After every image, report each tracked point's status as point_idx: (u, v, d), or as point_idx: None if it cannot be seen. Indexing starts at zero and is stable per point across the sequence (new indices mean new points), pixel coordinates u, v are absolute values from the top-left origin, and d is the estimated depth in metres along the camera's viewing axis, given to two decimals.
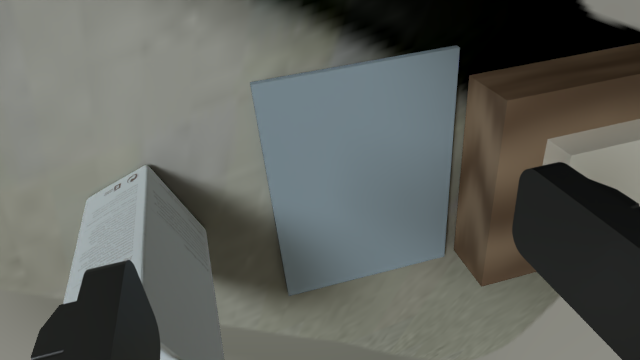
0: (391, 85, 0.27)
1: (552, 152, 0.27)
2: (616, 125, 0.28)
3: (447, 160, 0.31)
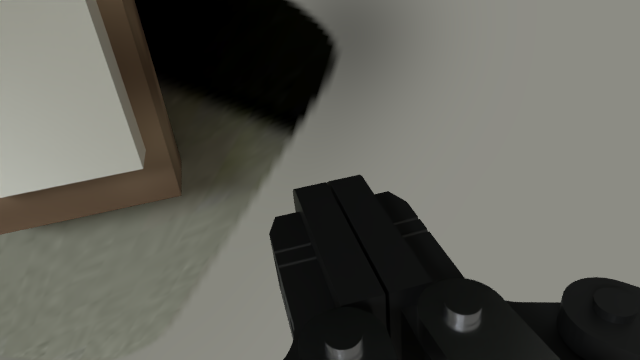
0: None
1: None
2: None
3: None
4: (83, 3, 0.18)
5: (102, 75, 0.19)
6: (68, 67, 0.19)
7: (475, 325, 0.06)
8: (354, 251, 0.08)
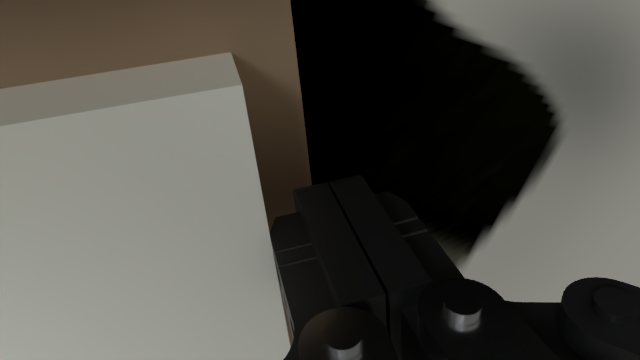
0: None
1: None
2: (32, 85, 0.08)
3: None
4: (243, 123, 0.08)
5: (257, 256, 0.09)
6: (192, 248, 0.09)
7: (475, 325, 0.06)
8: (354, 251, 0.08)
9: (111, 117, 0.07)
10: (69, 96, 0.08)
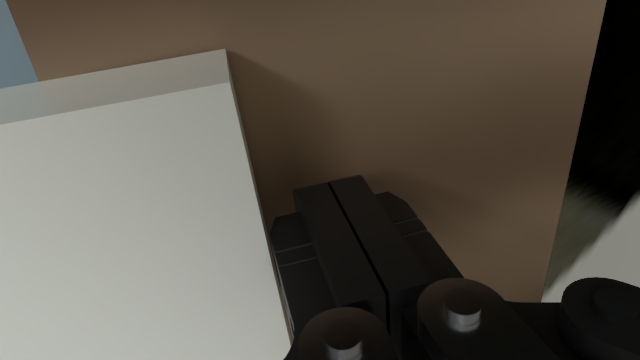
0: None
1: None
2: (27, 85, 0.08)
3: None
4: (232, 121, 0.08)
5: (253, 256, 0.09)
6: (186, 248, 0.09)
7: (475, 325, 0.06)
8: (354, 251, 0.08)
9: (98, 117, 0.07)
10: (59, 96, 0.08)
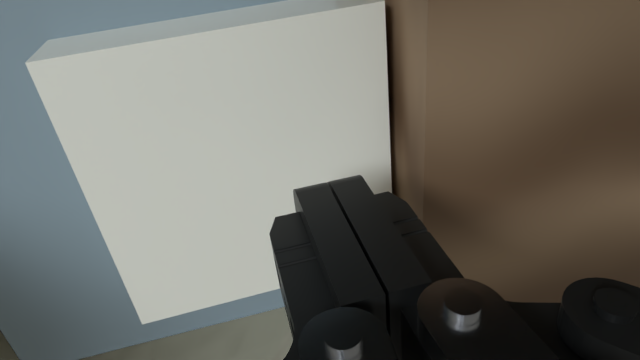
0: None
1: None
2: (228, 10, 0.12)
3: None
4: (381, 29, 0.11)
5: (378, 135, 0.13)
6: (337, 125, 0.12)
7: (475, 325, 0.06)
8: (354, 251, 0.08)
9: (302, 22, 0.11)
10: (264, 13, 0.11)
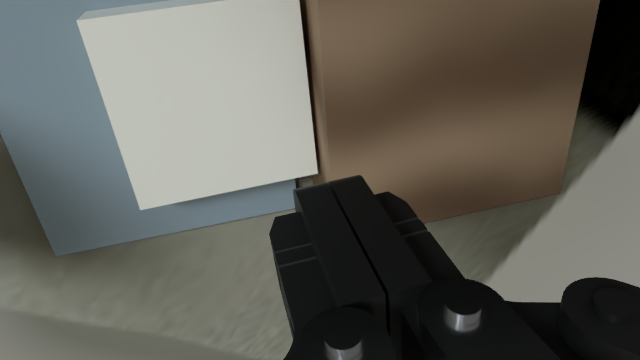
0: None
1: None
2: None
3: None
4: (297, 8, 0.18)
5: (300, 80, 0.20)
6: (271, 71, 0.19)
7: (475, 325, 0.06)
8: (354, 251, 0.08)
9: (245, 1, 0.18)
10: None
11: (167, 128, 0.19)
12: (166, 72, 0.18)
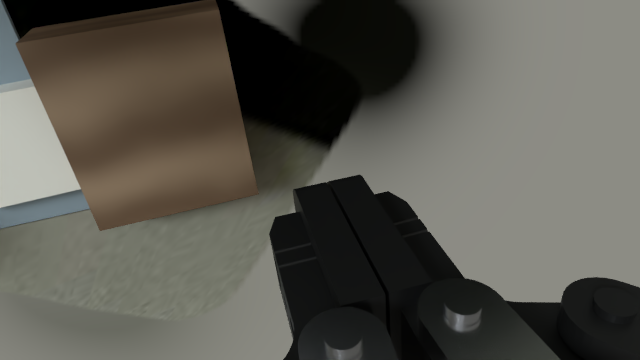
0: None
1: None
2: None
3: None
4: None
5: (55, 134, 0.32)
6: (34, 130, 0.32)
7: (475, 325, 0.06)
8: (354, 251, 0.08)
9: (6, 94, 0.30)
10: None
11: None
12: None
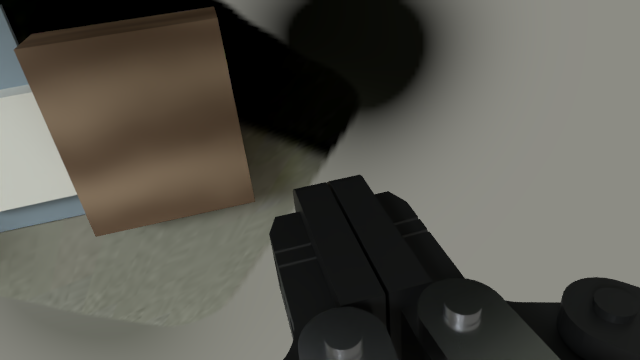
0: None
1: None
2: None
3: None
4: None
5: (52, 139, 0.32)
6: (31, 136, 0.32)
7: (475, 325, 0.06)
8: (354, 251, 0.08)
9: (3, 99, 0.30)
10: None
11: None
12: None
